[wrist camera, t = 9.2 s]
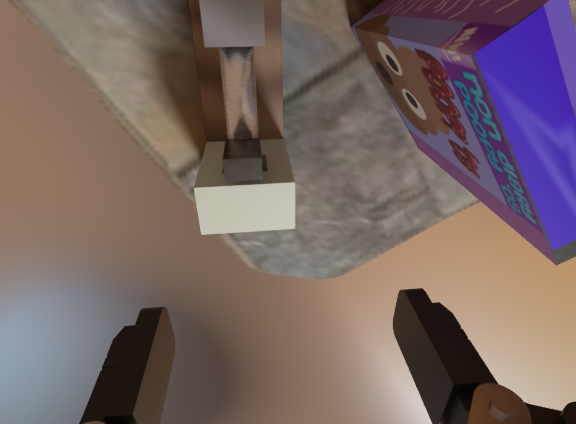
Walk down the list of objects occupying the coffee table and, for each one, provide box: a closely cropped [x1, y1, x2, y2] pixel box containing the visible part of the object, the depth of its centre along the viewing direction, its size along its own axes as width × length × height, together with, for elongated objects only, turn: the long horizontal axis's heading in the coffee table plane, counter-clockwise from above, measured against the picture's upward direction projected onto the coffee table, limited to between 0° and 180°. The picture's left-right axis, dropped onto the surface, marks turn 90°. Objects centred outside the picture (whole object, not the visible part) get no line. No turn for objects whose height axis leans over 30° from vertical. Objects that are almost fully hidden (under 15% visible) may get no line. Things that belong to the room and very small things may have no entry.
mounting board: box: [188, 0, 283, 142], centre depth 35 cm, size 27×9×10 cm, turn 1°
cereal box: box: [350, 0, 576, 265], centre depth 31 cm, size 17×5×24 cm, turn 36°
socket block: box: [194, 139, 295, 235], centre depth 38 cm, size 5×9×12 cm, turn 91°
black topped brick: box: [219, 46, 263, 182], centre depth 31 cm, size 16×3×8 cm, turn 1°
